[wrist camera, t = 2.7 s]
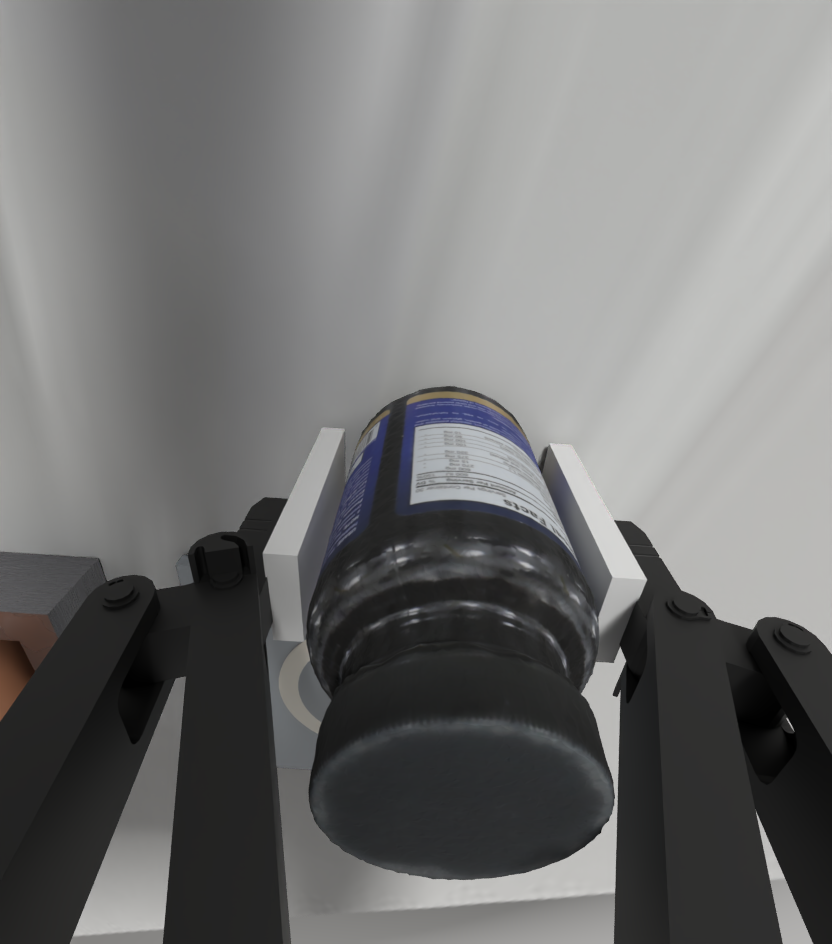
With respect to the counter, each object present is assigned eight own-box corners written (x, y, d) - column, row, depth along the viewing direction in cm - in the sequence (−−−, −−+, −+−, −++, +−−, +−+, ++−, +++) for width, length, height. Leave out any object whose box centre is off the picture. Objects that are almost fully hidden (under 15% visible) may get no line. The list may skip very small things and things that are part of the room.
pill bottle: (415, 556, 19) (398, 923, 9) (319, 438, 16) (165, 775, 7) (560, 487, 17) (720, 854, 8) (478, 343, 15) (564, 621, 5)
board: (182, 555, 19) (174, 567, 19) (579, 582, 19) (584, 595, 19) (228, 752, 26) (223, 766, 26) (519, 771, 26) (521, 785, 26)
